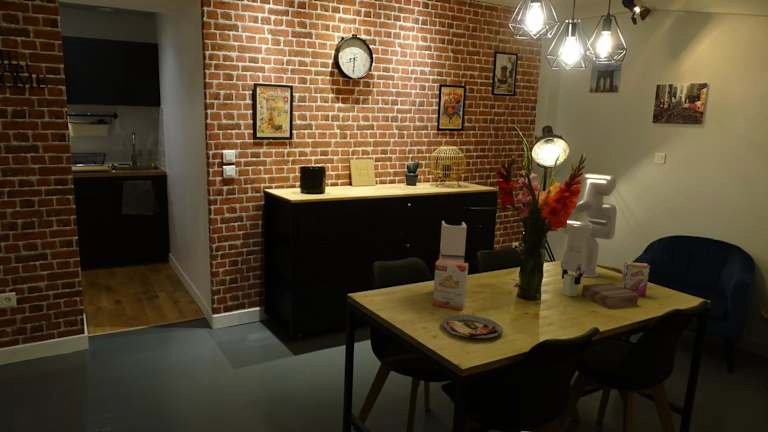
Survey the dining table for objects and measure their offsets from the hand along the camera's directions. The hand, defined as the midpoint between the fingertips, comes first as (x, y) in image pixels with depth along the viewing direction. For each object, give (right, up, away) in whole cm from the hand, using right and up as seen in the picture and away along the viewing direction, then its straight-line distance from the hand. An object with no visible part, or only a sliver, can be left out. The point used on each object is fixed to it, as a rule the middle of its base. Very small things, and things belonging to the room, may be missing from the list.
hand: (570, 281), depth 268 cm
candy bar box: (+34, -8, +7) cm, 36 cm away
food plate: (-58, -14, -50) cm, 78 cm away
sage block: (0, -7, +2) cm, 7 cm away
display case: (-62, -5, -7) cm, 62 cm away
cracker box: (-64, -9, -24) cm, 69 cm away
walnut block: (+17, -9, -5) cm, 20 cm away
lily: (-22, -4, +13) cm, 25 cm away
